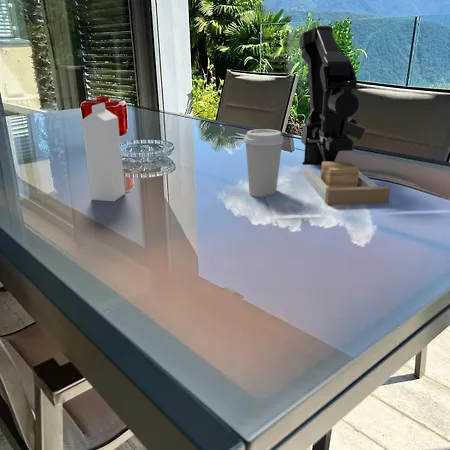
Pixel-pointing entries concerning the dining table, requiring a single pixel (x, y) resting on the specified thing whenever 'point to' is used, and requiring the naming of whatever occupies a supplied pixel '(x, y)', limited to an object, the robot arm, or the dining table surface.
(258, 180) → the coffee cup
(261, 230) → the dining table surface
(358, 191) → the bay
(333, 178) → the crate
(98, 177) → the milk
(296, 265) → the dining table surface
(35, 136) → the dining table surface
